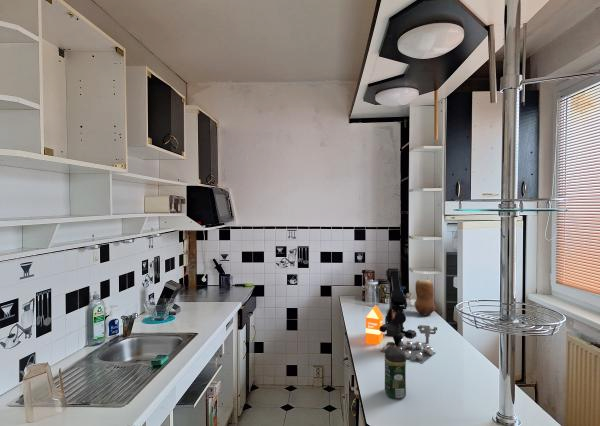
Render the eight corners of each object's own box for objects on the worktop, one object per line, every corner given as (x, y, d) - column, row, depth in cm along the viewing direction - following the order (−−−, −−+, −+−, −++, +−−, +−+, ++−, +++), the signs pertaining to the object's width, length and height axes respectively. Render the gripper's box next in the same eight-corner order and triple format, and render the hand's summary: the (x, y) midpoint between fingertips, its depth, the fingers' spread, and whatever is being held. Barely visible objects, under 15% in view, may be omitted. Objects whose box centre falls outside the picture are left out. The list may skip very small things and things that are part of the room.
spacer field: (382, 352, 198) (382, 345, 198) (398, 342, 211) (398, 336, 211) (422, 363, 184) (422, 356, 183) (436, 352, 197) (436, 346, 197)
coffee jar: (382, 388, 161) (382, 344, 160) (401, 388, 161) (401, 344, 160) (388, 400, 151) (388, 353, 150) (408, 400, 151) (408, 353, 151)
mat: (379, 352, 198) (379, 351, 198) (395, 343, 212) (395, 342, 212) (422, 365, 183) (422, 363, 183) (436, 353, 197) (436, 352, 197)
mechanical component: (437, 345, 208) (437, 327, 208) (417, 344, 210) (418, 326, 210) (436, 343, 211) (436, 326, 211) (417, 342, 213) (417, 324, 213)
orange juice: (382, 340, 216) (383, 305, 216) (379, 345, 208) (379, 309, 208) (369, 338, 220) (369, 303, 219) (365, 343, 212) (365, 307, 211)
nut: (385, 348, 202) (385, 344, 202) (388, 345, 206) (388, 341, 206) (393, 350, 200) (393, 345, 200) (396, 347, 204) (396, 342, 204)
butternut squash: (418, 311, 274) (419, 276, 274) (437, 314, 267) (438, 278, 266) (412, 315, 263) (412, 279, 262) (431, 319, 255) (432, 282, 255)
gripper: (374, 318, 201) (374, 347, 201) (407, 325, 189) (407, 356, 189) (384, 313, 210) (384, 341, 210) (416, 320, 197) (416, 349, 198)
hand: (397, 347), depth 201 cm, fingers closed
